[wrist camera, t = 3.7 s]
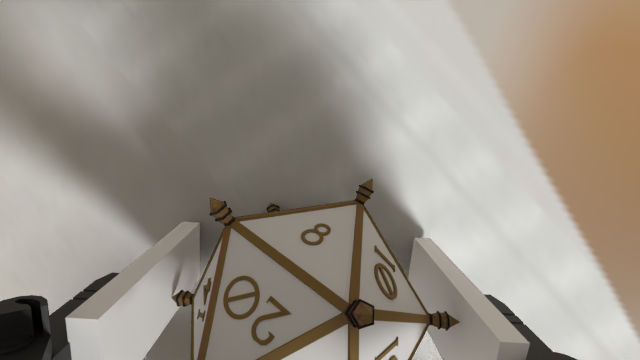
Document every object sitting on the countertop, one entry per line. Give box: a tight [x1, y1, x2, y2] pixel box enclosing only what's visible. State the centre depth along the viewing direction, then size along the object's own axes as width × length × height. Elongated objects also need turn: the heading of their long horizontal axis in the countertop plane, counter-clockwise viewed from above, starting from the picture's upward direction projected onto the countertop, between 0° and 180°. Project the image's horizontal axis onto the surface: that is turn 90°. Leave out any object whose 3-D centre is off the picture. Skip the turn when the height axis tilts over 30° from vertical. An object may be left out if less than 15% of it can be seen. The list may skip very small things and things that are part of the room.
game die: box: [172, 179, 459, 360], centre depth 10 cm, size 9×8×10 cm
